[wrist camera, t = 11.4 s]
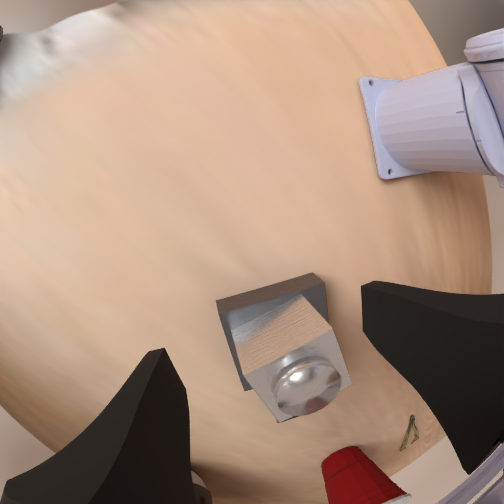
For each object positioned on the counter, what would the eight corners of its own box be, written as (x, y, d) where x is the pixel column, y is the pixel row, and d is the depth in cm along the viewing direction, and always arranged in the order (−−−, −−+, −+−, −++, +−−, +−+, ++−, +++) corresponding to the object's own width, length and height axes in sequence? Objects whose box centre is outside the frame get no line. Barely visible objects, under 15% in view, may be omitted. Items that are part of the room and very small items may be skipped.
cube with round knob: (301, 293, 17) (341, 337, 12) (323, 346, 19) (359, 393, 14) (231, 330, 17) (247, 388, 12) (262, 378, 18) (284, 434, 13)
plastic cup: (294, 460, 26) (327, 534, 15) (372, 423, 27) (419, 486, 16) (308, 484, 29) (334, 541, 18) (371, 454, 30) (406, 505, 19)
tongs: (415, 406, 30) (422, 414, 28) (414, 434, 34) (420, 440, 33) (393, 423, 30) (399, 432, 28) (396, 447, 34) (401, 454, 32)
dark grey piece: (312, 272, 19) (346, 301, 14) (325, 393, 23) (347, 429, 18) (216, 300, 18) (223, 340, 14) (255, 417, 22) (268, 457, 17)
